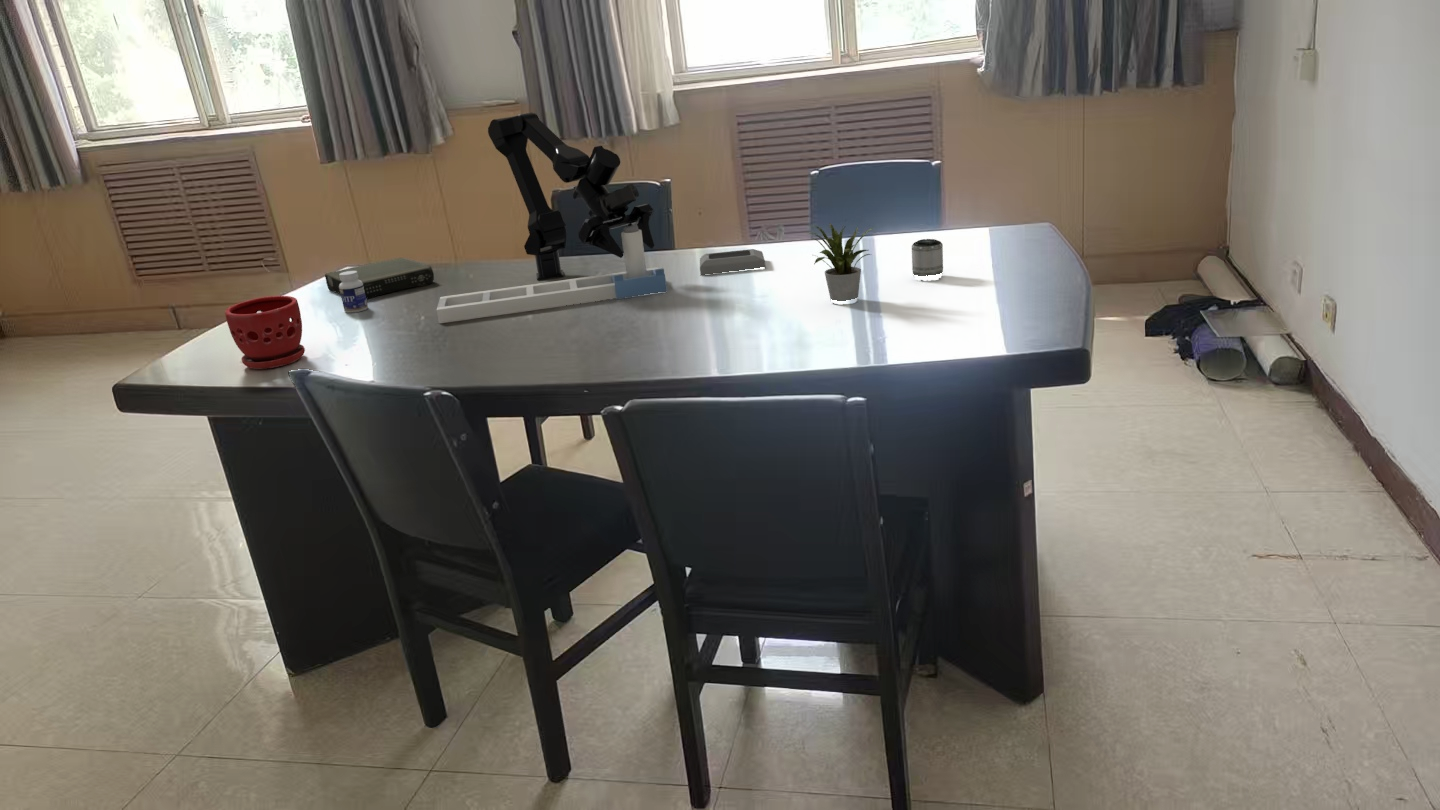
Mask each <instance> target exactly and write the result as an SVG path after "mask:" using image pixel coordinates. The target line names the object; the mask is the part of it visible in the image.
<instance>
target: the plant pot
mask: <svg viewBox="0 0 1440 810" xmlns="http://www.w3.org/2000/svg"><path fill="white" fill-rule="evenodd" d="M224 315H225V319H226V323H227V326H228V329H229V332H230V334H231V337H232V339H233V341H234V343H235V345H236V347H237V348H238V349H239V350H240V352H241V353H242V354H243V355H242V357H241V363H242V364H243V365H244V366H246V367H248V368H250V369H255V370H266V369H267V368H270V369H275V368H274V367H276V368H280V367H279V366H281V367H283V365H284V366H288V365H291V364H293V363H295V362H297V361H298V360H299V359H301V358H302V357H303V356H304V354H305V351H306V349H305V346H304V345H302V344H301V341H302V335H303V321H302V317H301V310H300V306H299V302H298V299H297V298H296V297H293V296H290V295H272V296H269V295H268V296H262V297H257V298H251V299H248V300H244V301H241V302H239V303H236V304H232V305H231V306H230V307H228V308H226V309H225V311H224ZM290 319H291V320H290ZM287 364H288V365H287ZM267 370H268V369H267Z"/></svg>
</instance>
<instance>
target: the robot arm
mask: <svg viewBox="0 0 1440 810" xmlns="http://www.w3.org/2000/svg"><path fill="white" fill-rule="evenodd" d="M487 133H488V136H489V138H490V140H491V142H492V144H493V146H494V147H495V149H496V150H497V152H499V153H500V154H502V155H503V156H504V157H505V158H506V160H507V162H508V165H509V167H510V170H511V172H512V174H513V177H514V179H515V182H516V184H517V187H518V189H519V191H520V192H519V193H520V195H521V196H522V199H523V202H524V205H525V206H526V209H527V213H528V222H527V230H528V234H529V236H528V237H527V239H526V241H525V243H524V245H523V247H524V250H525V253H526V255H530V256H534V258H535V264H536V265H535V266H536V270H537V272H536V280H537V281H541V280H548V279H555V278H562V277H564V276H565V275H564V270H563V269H562V267H561V261H560V260H561V259H560V255H559V250H563V249H566V247H567V245H566V244H567V234H568V233H567V231H568V230H567V228H566V227H567V224H566V223H565V222H564V220H563V217H562V213H561V212H560V211H559V210H553V208H551V207H550V206H549V204H548V202H547V199H546V197H545V194H544V191H543V189H542V187H541V184H540V182H539V179H538V177H537V174H536V172H535V168H534V167H533V163H532V161H531V159H530V156H529V154H528V150H527V147H528V140H529V141H530V142H531V143H532V144H533V145H534V146H536V148H538V150H540V151H541V152H542V153H543V154H544V155H545V156H546V157H547V158H548V159H549V160H550V161H551V163H552V169H553V171H554V172H555V174H556V175H557V176H558V177H559V179H560V180H561V181H562V182H564V183H565V184H568V183H573V182H578V183H577V185H575V186H573V193H572V198H573V199H574V200H578V199H582V200H583V202H584V203H585V204H586V206H587V207H588V209H589V212H588V215H589V216H590V217H588V218H585V219H584V221H583V223H582V225H581V227H580V228H579V231H578V233H577V234H578V239H579V240H580V241H581V243H582V244H583V245H587V244H588V245H589V246H591V247H592V246H594V247H596V248H599V249H601V250H604V251H606V252H608V253H610V254H612V255H614V256H616V257H618V258H620V259H621V258H623V257H624V251H622V249H621V247H620V246H619V244H618V243H617V241H616V240H615V238H614V237H613V235H612V234H611V233H610V232H611V231H610V230H612V229H617V228H621V227H623V226H624V227H625V226H626V225H627V226H632V225H636V226H638V229H640V230H641V231H642V239H643V244H645V245H646V246H647V247H648V248H650V249H652V250H653V249H654V247H655V242H654V239H653V237H652V233H651V230H650V224H649V223H650V221H651V219H652V216H653V215H654V213H655V210H654V208H652V206H651V205H650V204H649V203H644V204H640V205H635V206H633V208H632V210H631V212H630V213H629V214H627V215H626V212H628V211H629V208H630V207H629V206H628V205H630V204H632V203H633V202H636V201H637V199H636V198H638V197H640V196H639V195H640V193H639V190H638V188H637V187H636V186H635V185H634V184H633V183H630V184H626V186H623V187H622V188H617V189H616V190H613V191H612V192H610V191H609V190H608V189H607V187H606V186H607V185H610V183H611V182H612V180H613V178H614V176H615V175H616V172H617V170H618V169H619V167H620V166H621V158H620V157H619V155H618V154H617V153H615V152H613V151H612V150H610V149H607V148H604V147H603V145H598V146H594V147H593V149H592V151H591V152H592V153H591V155H590V156H589V155H588V154H587V153H585V152H583V151H581V150H580V149H579V148H575V147H573V146H569V145H568V144H566V143H565V142H564V141H563V140H562V139H560V138H559V137H558V135H556V134H555V132H553V131H552V130H551V129H550V128H549V127H548V126H547V125H545V124H544V123H543V122H542V121H541V120H540V118H539V115H537V113H535V112H526V113H519V114H517V115H512V116H507V117H499V118H494V119H492V120H491V121H490V123H489V125H488V127H487Z"/></svg>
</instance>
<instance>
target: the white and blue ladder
mask: <svg viewBox="0 0 1440 810" xmlns="http://www.w3.org/2000/svg"><path fill="white" fill-rule="evenodd" d="M646 271H647V276H644V277H637V278H630V279H627V274H626V271H620V272H613V273H606V274H598V275H591V276H583V277H577V278H576V277H574V278H569V279H563V280H556V281H555V280H554V281H548V282H547V281H546V282H541V283H531V284H525V285H518V286H517V285H516V286H510V287H503V288H496V289H488V290H483V291H482V290H481V291H474V292H473V291H472V292H466V293H460V294H453V295H445V296H440V297H439V301H438V304H437V307H436V315H437V320H438V324H444V323H446V324H447V323H452V322H453V323H454V322H460V321H466V320H467V321H468V320H473V319H481V318H488V317H494V316H495V317H496V316H501V315H510V314H518V313H524V312H529V311H531V312H532V311H538V310H544V309H546V310H547V309H552V308H560V307H566V305H567V306H572V305H573V304H574V305H580V303H581V304H586V303H587V304H588V303H594V302H595V301H596V302H600V300H603V301H606V300H605V299H610V300H612V299H611V298H617V299H618V300H620V299H619V298H625V297H632V296H638V295H644V294H650V293H658V292H666V291H667V292H668V290H667V284H666V283H667V280H666V275H665V269H664V268H663V267H662V268H659V267H658V266H656V267H649V268H648V267H647V268H646ZM632 298H633V297H632ZM617 299H616V300H617ZM625 299H626V298H625ZM596 302H595V303H596Z"/></svg>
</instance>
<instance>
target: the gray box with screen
mask: <svg viewBox="0 0 1440 810" xmlns="http://www.w3.org/2000/svg"><path fill="white" fill-rule="evenodd" d="M760 267H765V268H766V260H765V256H764V254H763V251H761V250H758V249H753V248H750V249H749V248H748V249H739V250H730V251H720V252H710V253H705V254H703V255H702V256H701V257H700V258H699V272H700V273H699V274H700V276H701V275H705V274H713V273H722V272H729V271H739V270H745V269H754V268H760ZM705 276H706V275H705Z"/></svg>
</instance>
